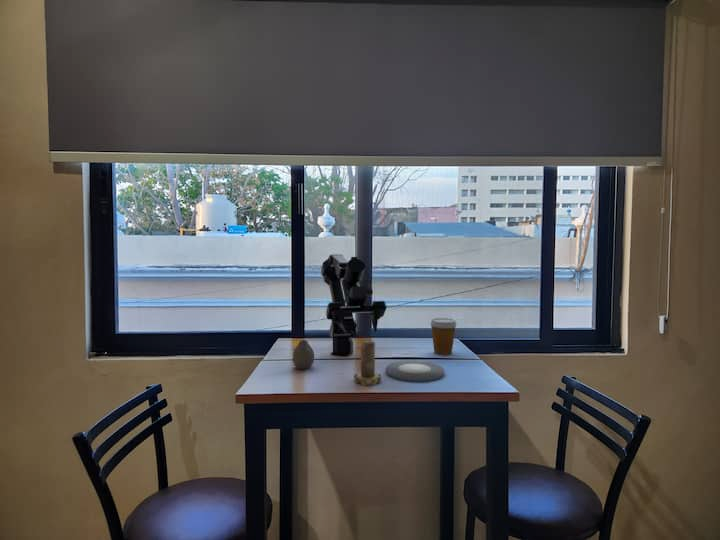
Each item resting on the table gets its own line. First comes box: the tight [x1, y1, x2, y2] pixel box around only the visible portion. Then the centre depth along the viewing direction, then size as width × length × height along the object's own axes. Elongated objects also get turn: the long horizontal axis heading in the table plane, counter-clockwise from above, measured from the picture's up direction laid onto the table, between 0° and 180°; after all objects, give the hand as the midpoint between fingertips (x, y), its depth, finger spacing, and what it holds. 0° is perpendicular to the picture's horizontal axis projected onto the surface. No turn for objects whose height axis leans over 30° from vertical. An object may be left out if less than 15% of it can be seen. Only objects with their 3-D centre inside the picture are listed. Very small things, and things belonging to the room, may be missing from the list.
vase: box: [292, 339, 315, 370], centre depth 147 cm, size 7×7×9 cm
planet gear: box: [353, 340, 382, 386], centre depth 134 cm, size 8×8×12 cm
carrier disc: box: [385, 360, 445, 383], centre depth 143 cm, size 18×18×1 cm
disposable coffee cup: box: [429, 317, 458, 356], centre depth 167 cm, size 10×10×12 cm
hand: (361, 332), depth 140 cm, fingers open, 9 cm apart
